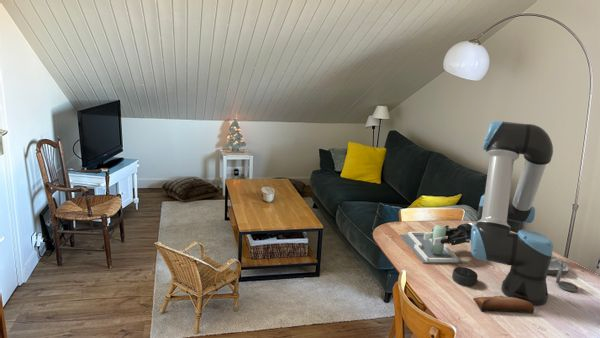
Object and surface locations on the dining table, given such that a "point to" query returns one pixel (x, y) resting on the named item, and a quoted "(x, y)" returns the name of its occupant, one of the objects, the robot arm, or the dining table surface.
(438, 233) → the sage post
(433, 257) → the keyhole track
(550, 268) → the brain slice
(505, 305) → the sunglasses case
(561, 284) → the grey disc stand
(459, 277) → the smart speaker
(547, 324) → the dining table surface
